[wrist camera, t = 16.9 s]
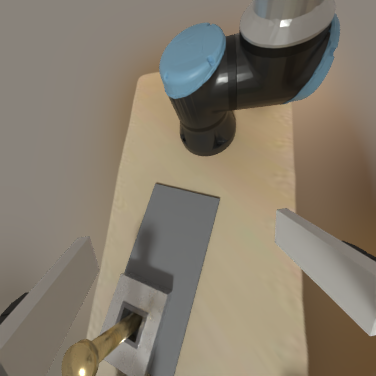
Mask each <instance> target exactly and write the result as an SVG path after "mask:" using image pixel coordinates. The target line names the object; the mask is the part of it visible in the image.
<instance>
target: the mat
mask: <svg viewBox="0 0 376 376" xmlns="http://www.w3.org/2000/svg"><path fill="white" fill-rule="evenodd" d="M219 201H220V199H218V198H214V197H209V196H205V195H201V194H197V193H193V192H188V191H184V190H180V189H176V188H171V187H167V186H163V185H159V184H155V186H154V189H153V192H152V195H151V198H150V201H149V203H148V206H147V209H146V212H145V215H144V218H143V221H142V224H141V226H140V229H139V232H138V235H137V238H136V241H135V244H134V246H133V249H132V252H131V255H130V258H129V261H128V264H127V266H126V269H125V272H131V273H133V274H135V275H137V276H140V277H142V278H144V279H146V280H149V281H151V282H153V283H155V284H158V285H160V286H162V287H164V288H167V289H169V290H171V291H172V294H171V298H170V301H169V305H168V308H167V312H166V315H165V318H164V322H163V325H162V329H161V332H160V336H159V339H158V343H157V346H156V350H155V353H154V357H153V360H152V364H151V367H150V371H149V374H150V375H152V376H174V373H175V370H176V366H177V362H178V358H179V354H180V350H181V347H182V343H183V339H184V335H185V331H186V327H187V324H188V320H189V316H190V312H191V308H192V304H193V301H194V297H195V293H196V289H197V285H198V281H199V278H200V274H201V270H202V266H203V262H204V258H205V254H206V251H207V247H208V243H209V239H210V235H211V231H212V228H213V224H214V220H215V216H216V212H217V208H218V205H219ZM125 272H124V273H125ZM132 312H133V311H131V310H130V312H129V315H130V314H131V313H132ZM139 329H140V327H139V328H138V329H137V330H135V331H137V332H139Z"/></svg>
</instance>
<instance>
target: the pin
mask: <svg viewBox="0 0 376 376" xmlns="http://www.w3.org/2000/svg"><path fill="white" fill-rule="evenodd" d="M142 319H143V317H142V316H140V315H138V314H136V313H135V312H132V313H131V314H130V315H128V316H127V317H125V318H124V319H122V320H121V321H120V322H118V323H117V324H115V325H114V326H112V327H111V328H110V329H108V330H107V331H105V332H104V333H102V334H101V335H100V336H98V337H97V338H95V339H94V340H92V341H90V340H87V339H83V340H80V341H78V342H77V343H75V344H74V345H72V346H71V347H70V348H69V349H68V350H67V352H66V353H65V355H64V358H63V361H62V376H95V375H96V373H97V370H98V366H99V363H100V362H101V361H102V360H103V359H104V358H105V357H106V356H108V355H109V354H110V353H111V352H112V351H113V350H114V349H115V348H117V347H118V346H119V345H120V344H121V343H122V342H123V341H124V340H125V339H127V338H128V337H129V336H130V335H131V334H132V333H133V332H134V331H135V330H137V329H138V328H139V327H140V326H141V323H142Z"/></svg>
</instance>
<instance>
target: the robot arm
mask: <svg viewBox="0 0 376 376" xmlns="http://www.w3.org/2000/svg"><path fill="white" fill-rule="evenodd" d="M335 10H336V4H335V0H253V1H252V2H251V4H250V5H249V6H248V8H247V9H246V10H245V11H244V13H243V15H242V17H241V20H240V33H238V34H234V35H230V36H225V35H224V33H223V31H222V29H221V28H220V27H218V26H217V25H216V24H212V25H210V23H200V24H196V25H193V26H191V27H189V28H187V29H185V30H184V31H182V32H181V33H179V34H178V35H177V36H176V37H175V38H174V39H173V40H172V41H171V43H170V44H169V45H168V46H167V47H166V49H165V51H164V52H163V55H162V57H161V60H160V67H159V69H160V76H161V79H162V81H163V84H164V88H165V92H166V94H167V95H168V96H169V99H170V101H171V103H172V105H173V107H174V109H175V111H176V113H177V116H178V118H179V120H180V137H181V140H182V142H183V144H184V146H185V147H186V148H187V149H188V150H189V151H190V152H191V153H193V154H196V155H199V156H211V155H215V154H218V153H220V152H222V151H223V150H225V149H226V148H227V147H228V146H229V145H230V144H231V142H232V141H233V139H234V136H235V131H236V123H235V119H234V116H233V114H232V113H231V110H239V109H247V108H255V107H263V106H271V105H278V104H280V105H281V104H287V103H289V102H293V101H298V100H302V99H304V98H306V97H308V96H309V95H311V94H312V93H313V92H314V91H315V90H316V89H317V88H318V87H319V86H320V84H321V83H322V81H323V80H324V78H325V77H326V75H327V73H328V71H329V69H330V67H331V64H332V62H333V59H334V56H333V52H334V51H335V49H336V48H337V46H338V42H339V36H340V23H339V19H338V17H337V15H336V14H335ZM275 243H276V244H277V245H278V246H279V247H280V248H281V249H282V250H283V251H284V252H285V253H286V254H287V255H288V256H289V257H290V258H291V259H292V260H293V261H294V262H295V263H296V264H297V265H298V266H299V267H300V268H301V269H302V270H303V271H304V272H305V273H306V274H307V275H308V276H309V277H310V278H311V279H312V280H314V282H315V283H316V284H318V285H319V286H320V287H321V288H322V289H323V290H324V291H325V292H326V293H327V294H328V295H329V296H330V297H331V298H332V299H333V300H334V301H335V302H336V303H337V304H338V305H339V306H340V307H341V308H342V309H343V310H344V311H345V312H346V313H347V314H348V315H349V316H350V317H351V318H352V319H353V320H354V321H355V322H356V323H357V324H358V325H359V326H360V327H361V328H362V329H363V330H364V331H365V332H366V333H367V334H368V335H369V336H373V335H376V257H374V256H372V255H371V254H367V252H366V251H364V250H362V249H360V248H359V247H357V246H355V245H352V244H350V243H347V242H345V241H340V240H338V239H337V238H335V237H333V236H332V235H330V234H329V233H327V232H325V231H324V230H322V229H320V228H319V227H317V226H315V225H314V224H312V223H310V222H309V221H307V220H305V219H303V218H302V217H300V216H299V215H297V214H295V213H294V212H292V211H290V210H289V209H287V208H285V209H277V211H276V228H275ZM98 272H99V266H98V263H97V260H96V256H95V253H94V250H93V246H92V243H91V239H90V237H89V236H88V237H81V238H77V239H76V240H75V241H74V242H73V244H72V245H71V246H70V247H69V248H68V249H67V250H66V251H65V253H64V254H63V255H62V256H61V257H60V258H59V259H58V261H57V262H56V263H55V264H54V265H53V266H52V267H51V268H50V269H49V271H48V272H47V273H46V274H45V275H44V276H43V277H42V278H41V280H40V281H39V282H38V283H37V284H36V285H35V286H34V287H33V289H32V290H31V291H30V292H28V293H24V294H23V295H22V296H21V297H19V298H18V299H17V300H15V301H14V302H13V303H11V305H10V306H9V307H8V308H7V309H6V310H5V311H4V312H3V313H2V314H1V316H0V376H46V374H47V372H48V370H49V368H50V366H51V364H52V362H53V361H54V358H55V356H56V355H57V352H58V351H59V349H60V346H61V345H62V343H63V341H64V339H65V337H66V335H67V333H68V331H69V329H70V327H71V325H72V323H73V321H74V319H75V317H76V315H77V313H78V311H79V309H80V307H81V306H82V304H83V302H84V299H85V298H86V296H87V294H88V292H89V290H90V288H91V286H92V284H93V282H94V280H95V278H96V276H97V274H98Z"/></svg>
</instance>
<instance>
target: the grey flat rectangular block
mask: <svg viewBox="0 0 376 376" xmlns="http://www.w3.org/2000/svg"><path fill="white" fill-rule="evenodd" d="M171 294H172V291H171V290H169V289H167V288H164V287H162V286H160V285H158V284H155V283H153V282H151V281H149V280H146V279H144V278H142V277H140V276H137V275H135V274H133V273H131V272H125V273H122V274H121V276H120V278H119V281H118V284H117V287H116V290H115V293H114V296H113V298H112V301H111V304H110V307H109V310H108V313H107V315H106V318H105V321H104V324H103V327H102V330H101V332H100V335H101V334H102V333H104V332H105V331H107V330H108V329H110V328H111V327H112V326H114V325H115V324H117V323H118V322H120V321H121V320H122V319H124V318H125V317H127V316H128V315H129V312H130V310H131V311H133V312H135V313H136V314H138V315H140V316H142V317H143V319H142V323H141V326H140V329H139V332H137V331H134V332H133V333H132V334H131V335H130V336H129V337H128V338H127V339H125V340H124V341H123V342H122V343H121V344H120V345H119V346H118V347H117V348H115V349H114V350H113V351H112V352H111V353H110V354H109V355H108V356H106V357H105V358H104V360H105V361H107V362H108V363H110V364H111V365H113V366H114V367H116V368H117V369H119V370H120V371H122V372H123V373H125V374H126V375H128V376H147V375H148V374H149V371H150V367H151V364H152V360H153V357H154V353H155V350H156V346H157V343H158V339H159V336H160V332H161V329H162V325H163V322H164V318H165V315H166V312H167V308H168V305H169V301H170V298H171ZM100 335H99V336H100Z"/></svg>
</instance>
